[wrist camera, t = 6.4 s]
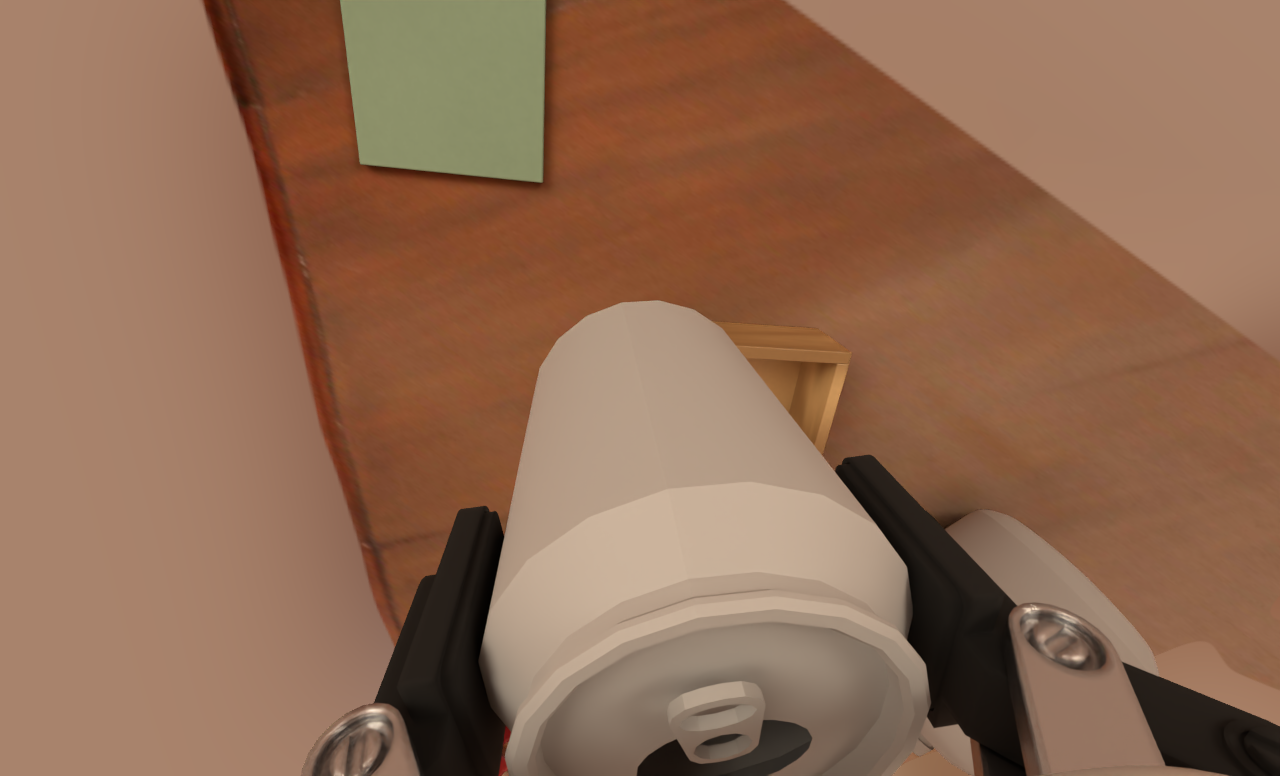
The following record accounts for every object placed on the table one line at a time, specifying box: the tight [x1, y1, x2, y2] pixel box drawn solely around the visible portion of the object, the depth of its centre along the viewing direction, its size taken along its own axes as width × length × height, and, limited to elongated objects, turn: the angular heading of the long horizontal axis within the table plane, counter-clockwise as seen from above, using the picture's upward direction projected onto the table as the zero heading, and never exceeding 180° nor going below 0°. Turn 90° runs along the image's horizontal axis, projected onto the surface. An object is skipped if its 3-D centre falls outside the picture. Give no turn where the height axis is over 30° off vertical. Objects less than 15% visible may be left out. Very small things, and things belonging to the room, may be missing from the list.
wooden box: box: [712, 321, 852, 455], centre depth 34 cm, size 15×15×5 cm
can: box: [478, 300, 931, 776], centre depth 12 cm, size 8×8×12 cm
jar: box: [913, 509, 1159, 776], centre depth 40 cm, size 19×15×25 cm
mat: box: [340, 0, 546, 183], centre depth 26 cm, size 10×10×1 cm
